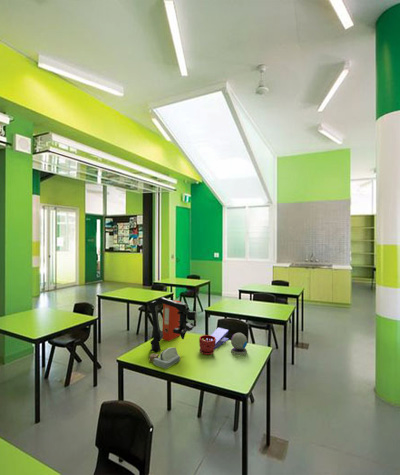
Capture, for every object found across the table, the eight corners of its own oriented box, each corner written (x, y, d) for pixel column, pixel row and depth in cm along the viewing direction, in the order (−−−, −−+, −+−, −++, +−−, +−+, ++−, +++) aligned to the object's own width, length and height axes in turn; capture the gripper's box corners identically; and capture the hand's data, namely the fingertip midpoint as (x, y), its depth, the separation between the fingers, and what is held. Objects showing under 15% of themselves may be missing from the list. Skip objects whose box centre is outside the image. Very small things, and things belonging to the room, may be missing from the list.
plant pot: (196, 354, 213) (197, 339, 213) (202, 348, 225) (202, 333, 226) (212, 357, 209) (213, 341, 209) (217, 350, 221) (217, 336, 221)
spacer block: (149, 361, 199) (149, 356, 199) (152, 358, 204) (152, 353, 204) (155, 362, 198) (155, 357, 198) (158, 359, 203) (158, 354, 203)
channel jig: (153, 364, 195) (153, 358, 195) (167, 356, 208) (168, 351, 208) (166, 368, 188) (166, 363, 188) (179, 360, 202) (179, 355, 202)
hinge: (166, 366, 192) (162, 352, 194) (161, 367, 194) (158, 352, 196) (180, 358, 206) (177, 344, 208) (175, 358, 208) (172, 345, 210)
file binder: (180, 335, 254) (181, 301, 254) (169, 341, 239) (170, 304, 239) (173, 333, 258) (174, 300, 258) (162, 339, 243) (163, 303, 243)
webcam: (236, 347, 230) (237, 329, 230) (250, 351, 221) (250, 333, 221) (227, 351, 220) (228, 333, 220) (241, 356, 212) (241, 337, 212)
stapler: (229, 340, 247) (229, 329, 247) (214, 350, 223) (214, 338, 223) (218, 337, 253) (218, 326, 253) (202, 347, 229) (202, 335, 229)
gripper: (184, 324, 202) (184, 345, 202) (198, 318, 218) (197, 337, 217) (172, 321, 208) (172, 342, 208) (186, 316, 224) (186, 335, 223)
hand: (182, 339), depth 214 cm, fingers closed
